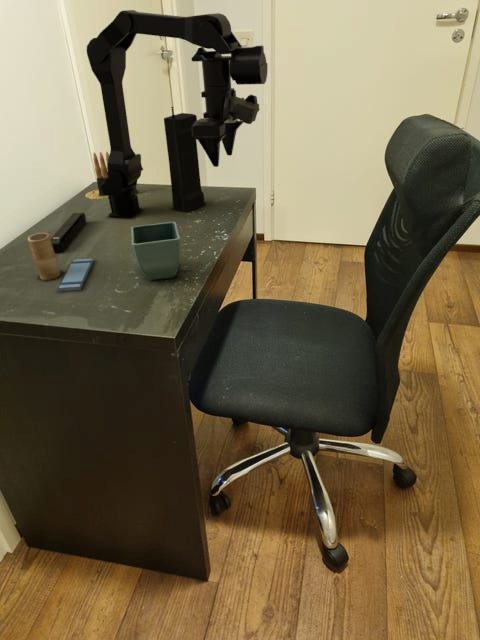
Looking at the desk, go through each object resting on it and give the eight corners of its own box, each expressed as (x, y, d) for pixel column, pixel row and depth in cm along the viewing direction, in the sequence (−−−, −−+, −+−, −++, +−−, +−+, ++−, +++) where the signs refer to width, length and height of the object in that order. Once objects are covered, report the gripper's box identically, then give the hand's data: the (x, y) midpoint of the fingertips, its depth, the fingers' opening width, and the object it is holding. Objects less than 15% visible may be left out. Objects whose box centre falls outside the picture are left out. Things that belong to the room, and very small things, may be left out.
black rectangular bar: (77, 222, 120) (74, 210, 118) (87, 221, 119) (84, 210, 118) (51, 253, 105) (47, 240, 103) (62, 252, 105) (59, 240, 103)
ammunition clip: (99, 195, 136) (90, 153, 129) (100, 193, 137) (91, 151, 131) (136, 193, 136) (128, 150, 129) (137, 191, 138) (129, 149, 131)
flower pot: (185, 280, 91) (180, 238, 86) (140, 287, 90) (131, 244, 85) (180, 261, 98) (175, 220, 93) (138, 267, 97) (130, 226, 92)
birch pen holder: (36, 279, 95) (23, 240, 90) (48, 269, 98) (36, 231, 93) (52, 281, 94) (40, 241, 89) (64, 271, 97) (53, 233, 92)
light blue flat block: (59, 291, 90) (58, 287, 90) (74, 263, 100) (73, 259, 100) (80, 290, 90) (79, 286, 90) (93, 261, 100) (92, 258, 100)
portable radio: (190, 199, 129) (180, 101, 115) (207, 203, 126) (198, 102, 112) (171, 208, 124) (157, 106, 110) (188, 212, 121) (176, 108, 107)
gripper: (240, 91, 89) (244, 174, 97) (266, 77, 103) (267, 150, 112) (186, 92, 92) (195, 172, 101) (218, 78, 106) (223, 149, 115)
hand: (223, 160), depth 107 cm, fingers open, 9 cm apart
